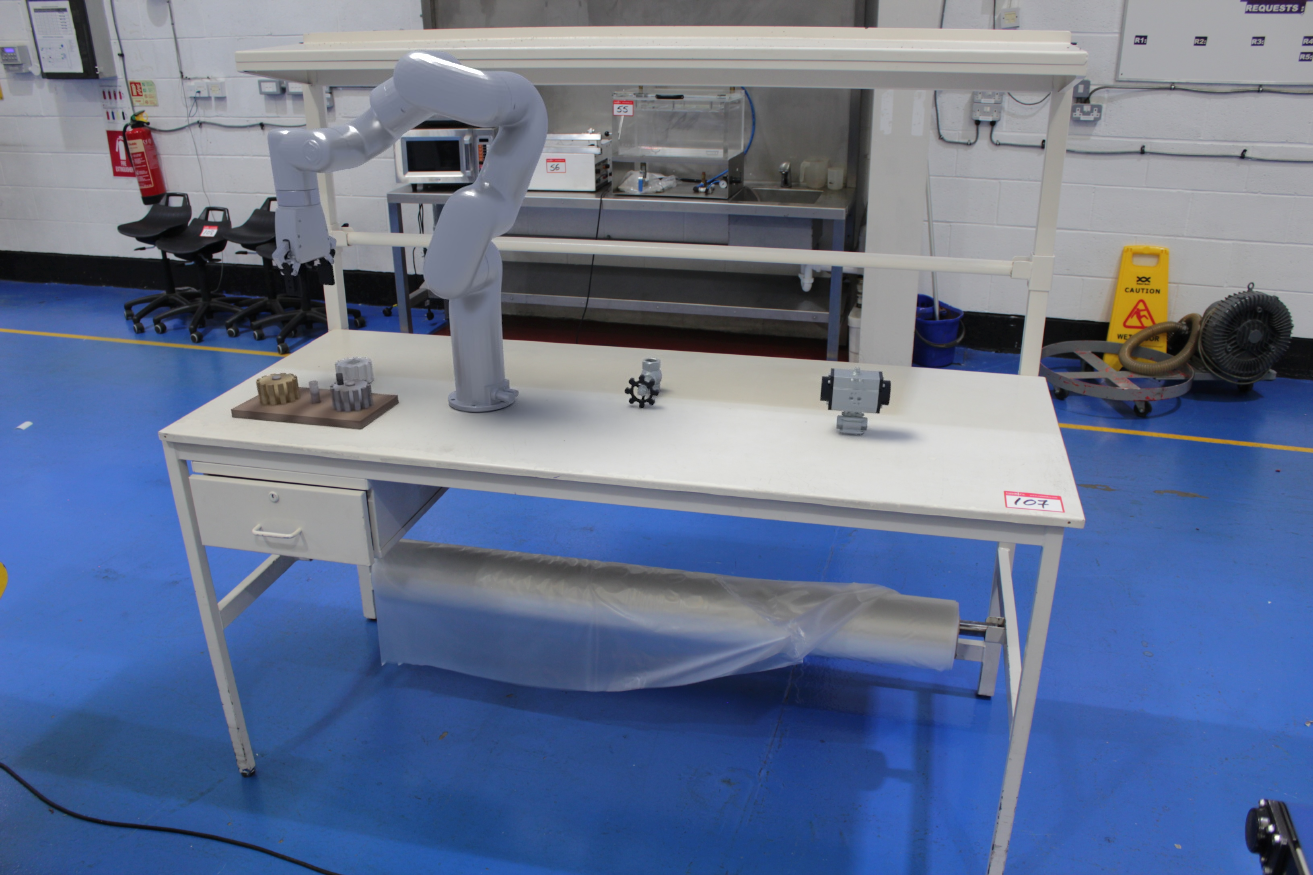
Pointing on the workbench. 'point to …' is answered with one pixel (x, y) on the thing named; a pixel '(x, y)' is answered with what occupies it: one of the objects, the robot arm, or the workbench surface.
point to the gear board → (315, 410)
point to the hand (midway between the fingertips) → (311, 290)
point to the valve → (646, 382)
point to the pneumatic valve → (854, 396)
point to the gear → (355, 368)
